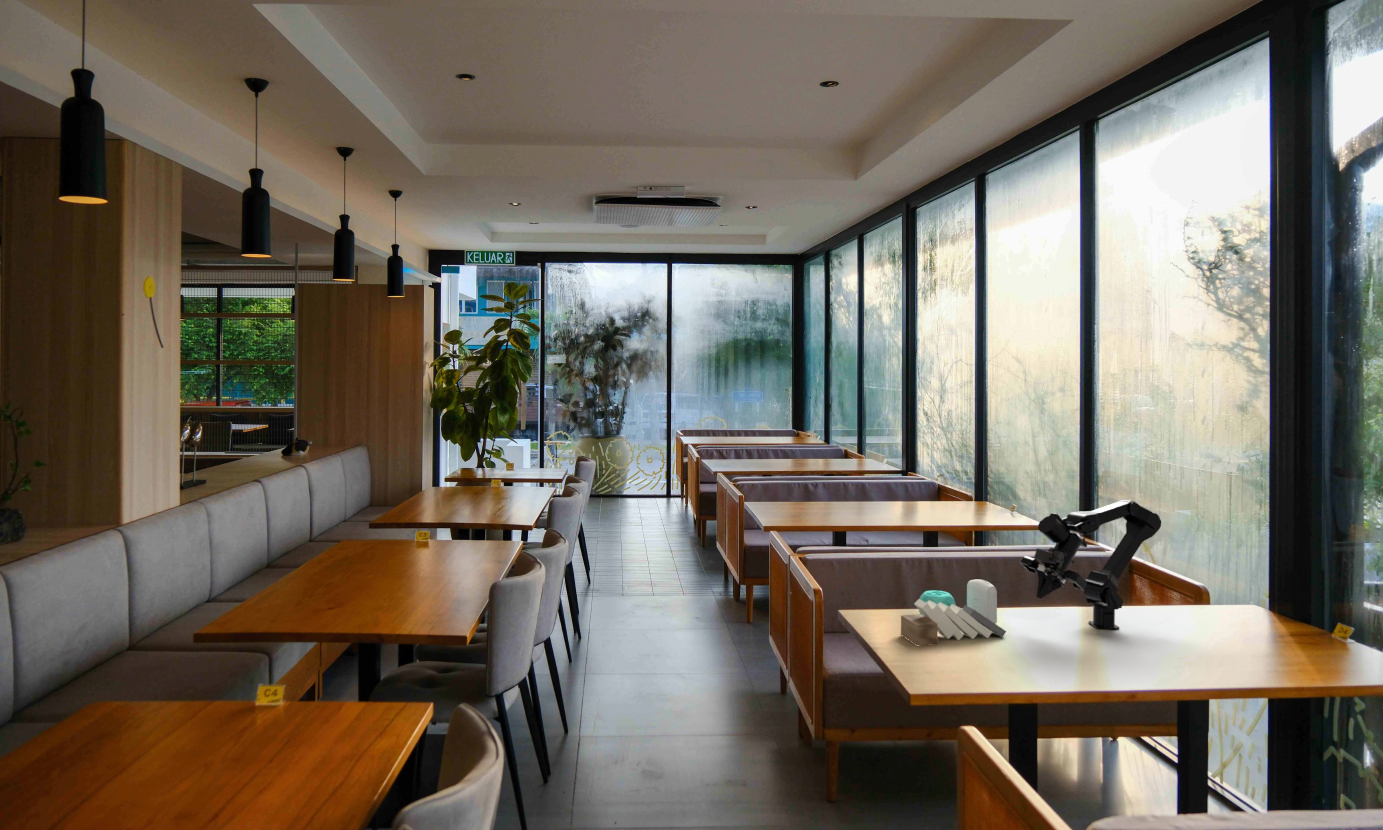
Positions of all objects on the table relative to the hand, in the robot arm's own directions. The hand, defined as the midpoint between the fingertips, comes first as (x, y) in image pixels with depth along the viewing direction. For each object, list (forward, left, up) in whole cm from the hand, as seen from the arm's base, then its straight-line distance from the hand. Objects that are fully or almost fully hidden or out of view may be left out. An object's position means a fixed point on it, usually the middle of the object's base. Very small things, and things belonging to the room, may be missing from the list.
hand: (1038, 597), depth 237 cm
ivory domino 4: (+1, -15, -10) cm, 18 cm away
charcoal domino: (0, -11, -10) cm, 14 cm away
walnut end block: (+6, -34, -11) cm, 37 cm away
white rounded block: (-14, -12, -11) cm, 22 cm away
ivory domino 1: (+4, -26, -9) cm, 28 cm away
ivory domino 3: (+2, -19, -10) cm, 22 cm away
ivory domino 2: (+3, -23, -10) cm, 26 cm away
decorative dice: (-15, -25, -11) cm, 31 cm away
